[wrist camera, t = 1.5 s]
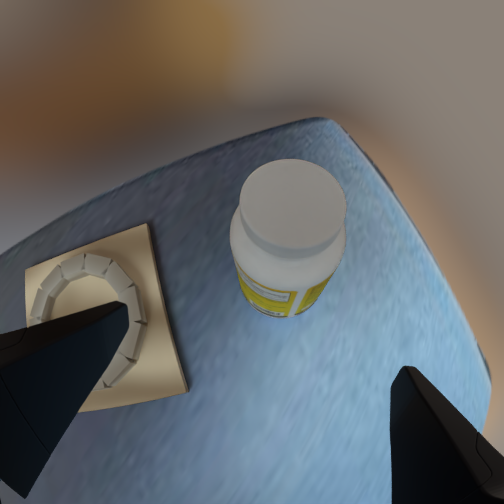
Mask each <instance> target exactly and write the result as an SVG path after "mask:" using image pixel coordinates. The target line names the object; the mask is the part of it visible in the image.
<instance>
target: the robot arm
mask: <svg viewBox="0 0 504 504" xmlns="http://www.w3.org/2000/svg"><path fill="white" fill-rule="evenodd" d="M128 329H129V314H128V306H127V304H125V303H123V302H120V301H112V302H109V303H106V304H102V305H99V306H96V307H92V308H89V309H86V310H82V311H79V312H76V313H73V314H69V315H66V316H63V317H59V318H56V319H52V320H49V321H46V322H42V323H39V324H36V325H32V326H29V327H28V328H27V327H25V328H22V329H19V330H15V331H11V332H8V333H4V334H0V481H1V480H2V481H3V482H5V483H6V484H7V485H8V486H9V487H10V488H12V489H13V490H14V491H15V492H16V493H18V494H19V495H20V496H21V497H23V498H24V499H25V498H26V497H27V496H28V494H29V492H30V490H31V489H32V487H33V485H34V483H35V481H36V480H37V478H38V476H39V475H40V473H41V471H42V469H43V468H44V466H45V464H46V463H47V461H48V459H49V458H50V456H51V454H52V452H53V451H54V449H55V447H56V446H57V444H58V443H59V441H60V439H61V438H62V436H63V434H64V433H65V431H66V430H67V428H68V427H69V425H70V423H71V422H72V420H73V419H74V417H75V416H76V414H77V412H78V411H79V409H80V408H81V406H82V405H83V403H84V402H85V400H86V399H87V397H88V396H89V394H90V393H91V391H92V390H93V388H94V387H95V385H96V384H97V382H98V381H99V379H100V378H101V376H102V375H103V373H104V372H105V371H106V369H107V368H108V366H109V364H110V363H111V361H112V359H113V357H114V355H115V354H116V352H117V350H118V348H119V346H120V344H121V342H122V341H123V339H124V337H125V335H126V333H127V332H128ZM390 444H391V468H392V504H504V457H503V456H502V455H501V454H500V453H499V452H498V451H497V450H496V449H495V448H494V447H493V446H492V445H491V444H490V443H489V442H488V441H487V440H486V439H485V438H484V437H483V436H482V435H481V434H480V433H479V432H477V430H476V429H475V428H474V426H473V425H472V424H471V423H470V422H469V421H468V420H467V419H466V418H465V417H464V416H463V415H462V414H461V413H460V412H459V411H458V410H457V409H456V408H455V407H454V406H453V405H452V404H451V403H450V402H449V401H448V400H447V399H446V398H445V397H444V395H443V394H442V393H441V392H440V391H439V390H438V389H437V388H436V387H435V386H434V385H433V384H432V383H431V382H430V381H429V380H428V379H427V378H426V377H425V376H424V375H423V374H422V373H421V372H420V371H419V370H418V369H417V368H415V367H413V366H403V367H402V368H401V369H400V371H399V373H398V374H397V376H396V378H395V380H394V381H393V383H392V385H391V395H390ZM0 504H1V500H0Z"/></svg>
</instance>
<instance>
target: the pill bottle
mask: <svg viewBox="0 0 504 504" xmlns="http://www.w3.org/2000/svg"><path fill="white" fill-rule="evenodd" d="M345 215H346V199H345V195H344V192H343V190H342V188H341V186H340V184H339V183H338V181H337V180H336V179H335V178H334V177H333V176H332V175H331V174H330V173H329V172H328V171H327V170H325V169H324V168H322V167H320V166H318V165H316V164H314V163H311V162H308V161H304V160H299V159H281V160H276V161H272V162H269V163H267V164H264V165H263V166H261V167H259V168H258V169H256V170H255V171H254V172H253V173H251V174H250V176H249V177H248V178H247V180H246V181H245V183H244V185H243V187H242V190H241V194H240V204H239V206H238V208H237V209H236V211H235V213H234V215H233V218H232V221H231V227H230V245H231V250H232V254H233V258H234V262H235V266H236V270H237V274H238V278H239V282H240V286H241V289H242V292H243V295H244V297H245V298H246V300H247V301H248V303H249V304H250V305H251V306H252V307H253V308H254V309H255V310H256V311H258V312H260V313H261V314H263V315H266V316H269V317H272V318H279V319H284V318H291V317H294V316H297V315H299V314H301V313H303V312H305V311H306V310H307V309H309V308H310V307H311V306H312V305H313V304H314V302H315V301H316V300H317V298H318V297H319V295H320V294H321V292H322V291H323V289H324V287H325V286H326V284H327V283H328V281H329V280H330V278H331V276H332V275H333V273H334V272H335V270H336V268H337V267H338V265H339V263H340V261H341V259H342V256H343V254H344V250H345V246H346V230H345V225H344V219H345Z"/></svg>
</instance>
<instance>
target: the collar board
mask: <svg viewBox="0 0 504 504" xmlns="http://www.w3.org/2000/svg"><path fill="white" fill-rule="evenodd" d="M25 297H26V318H27V328H28V327H29V326H32V325H36V324H39V323H42V322H46V321H49V320H52V319H56V318H59V317H63V316H66V315H69V314H73V313H76V312H79V311H82V310H86V309H89V308H92V307H96V306H99V305H102V304H106V303H109V302H112V301H120V302H123V303H125V304H127V306H128V314H129V329H128V332H127V333H126V335H125V337H124V339H123V341H122V342H121V344H120V346H119V348H118V350H117V352H116V354H115V355H114V357H113V359H112V361H111V363H110V364H109V366H108V368H107V369H106V371H105V372H104V373H103V375H102V376H101V378H100V379H99V381H98V382H97V384H96V385H95V387H94V388H93V390H92V391H91V393H90V394H89V396H88V397H87V399H86V400H85V402H84V403H83V405H82V406H81V408H80V409H79V411H78V412H86V411H94V410H101V409H107V408H113V407H119V406H125V405H131V404H136V403H141V402H146V401H151V400H156V399H161V398H165V397H170V396H174V395H178V394H182V393H187V392H189V390H188V387H187V384H186V380H185V377H184V374H183V370H182V367H181V364H180V360H179V357H178V353H177V349H176V346H175V342H174V338H173V335H172V331H171V327H170V323H169V319H168V315H167V311H166V307H165V302H164V298H163V294H162V289H161V285H160V280H159V276H158V271H157V266H156V261H155V256H154V251H153V246H152V240H151V235H150V229H149V227H148V225H147V224H143V225H140V226H137V227H134V228H131V229H129V230H126V231H123V232H120V233H117V234H115V235H112V236H109V237H106V238H104V239H101V240H98V241H96V242H93V243H91V244H88V245H85V246H83V247H80V248H78V249H75V250H72V251H70V252H67V253H65V254H62V255H60V256H57V257H55V258H53V259H50V260H48V261H45V262H43V263H41V264H38V265H36V266H33V267H31V268H29V269H26V270H25ZM78 412H77V413H78Z"/></svg>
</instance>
